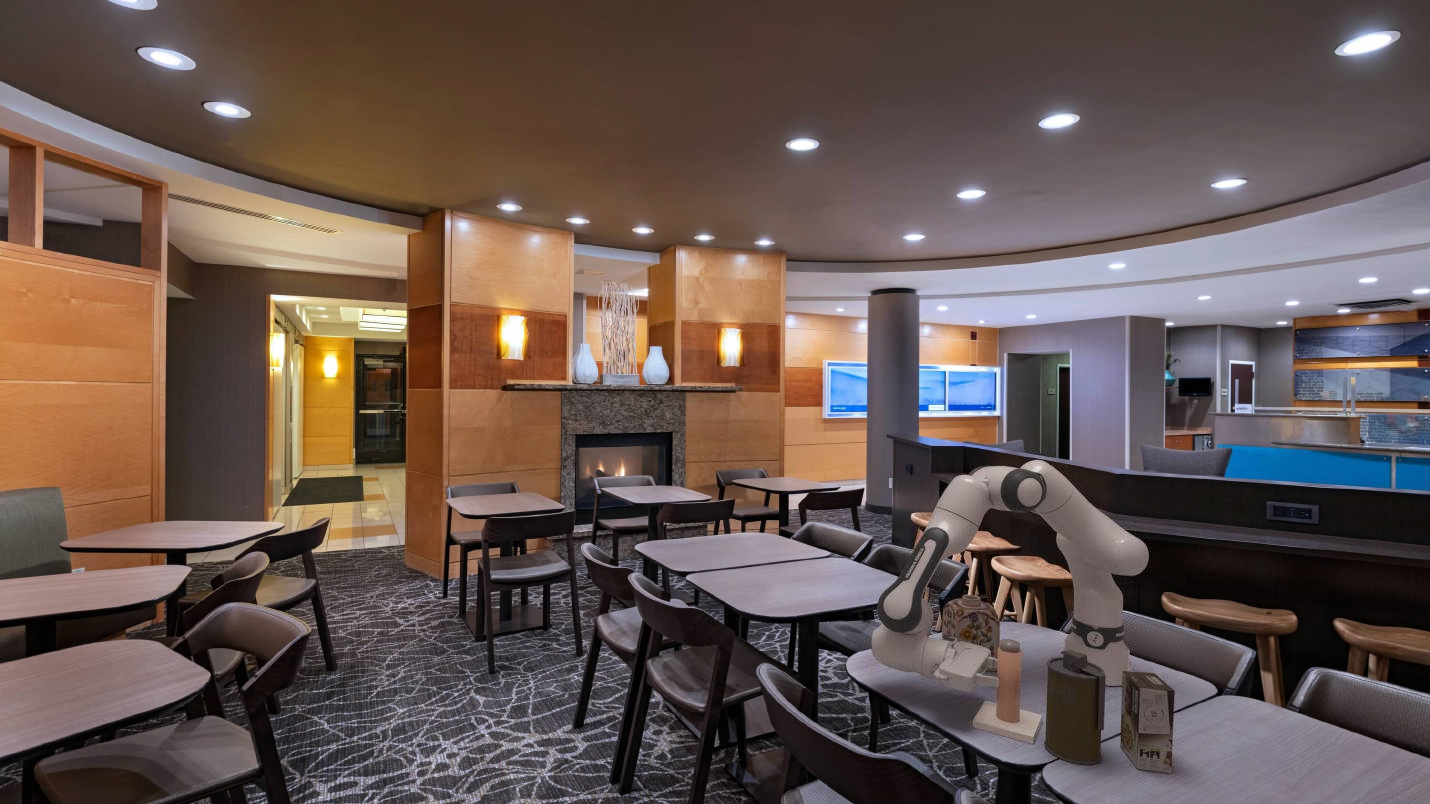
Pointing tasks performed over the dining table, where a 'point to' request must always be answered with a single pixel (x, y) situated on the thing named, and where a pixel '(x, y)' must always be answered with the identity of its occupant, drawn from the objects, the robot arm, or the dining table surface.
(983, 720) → the board
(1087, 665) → the canister
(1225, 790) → the dining table surface
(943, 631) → the decorative jar
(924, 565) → the robot arm
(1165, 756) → the coffee box
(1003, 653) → the shaker
